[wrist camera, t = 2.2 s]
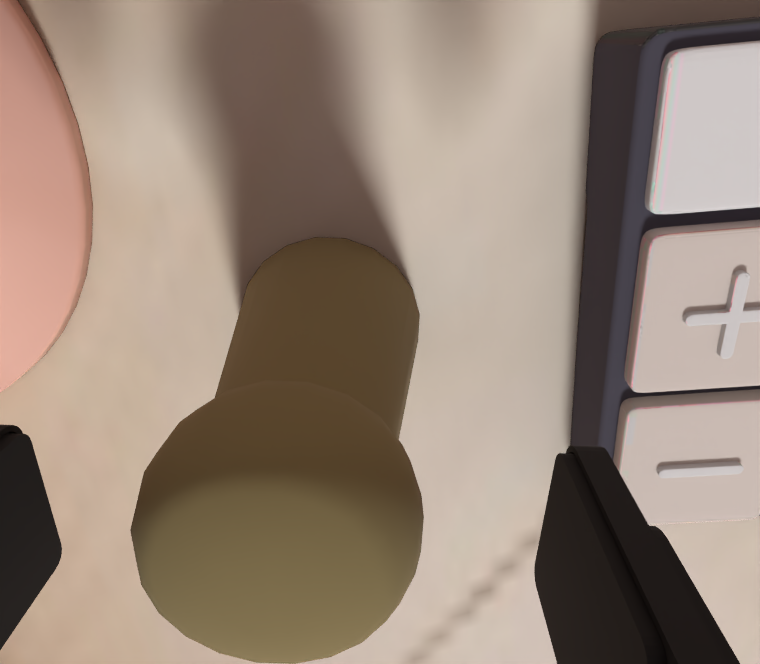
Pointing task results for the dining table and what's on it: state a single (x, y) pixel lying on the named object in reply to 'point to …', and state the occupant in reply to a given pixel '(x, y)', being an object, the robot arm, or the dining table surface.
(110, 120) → the dining table surface
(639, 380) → the calculator
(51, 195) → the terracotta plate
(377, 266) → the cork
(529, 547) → the dining table surface
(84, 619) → the dining table surface
